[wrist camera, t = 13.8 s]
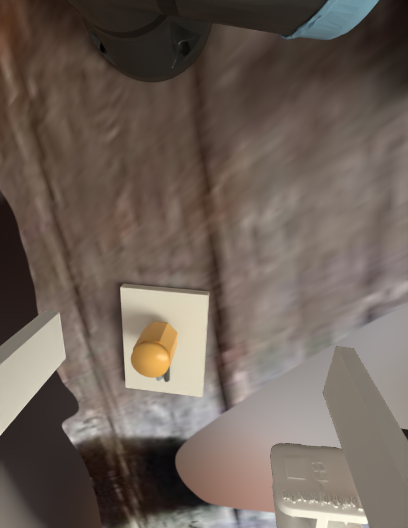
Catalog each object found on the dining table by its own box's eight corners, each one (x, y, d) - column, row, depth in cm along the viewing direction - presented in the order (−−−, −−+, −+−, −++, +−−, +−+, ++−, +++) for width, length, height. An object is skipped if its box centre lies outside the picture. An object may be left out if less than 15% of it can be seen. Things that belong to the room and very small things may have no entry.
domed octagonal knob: (143, 320, 44) (129, 343, 39) (177, 323, 44) (169, 347, 38) (144, 349, 46) (131, 375, 41) (177, 353, 46) (168, 379, 40)
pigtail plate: (123, 283, 47) (100, 308, 39) (209, 291, 45) (203, 318, 37) (128, 381, 53) (109, 420, 45) (203, 390, 52) (197, 431, 44)
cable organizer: (266, 475, 58) (273, 548, 47) (269, 437, 54) (278, 506, 43) (344, 483, 56) (370, 560, 45) (352, 444, 53) (382, 517, 42)
